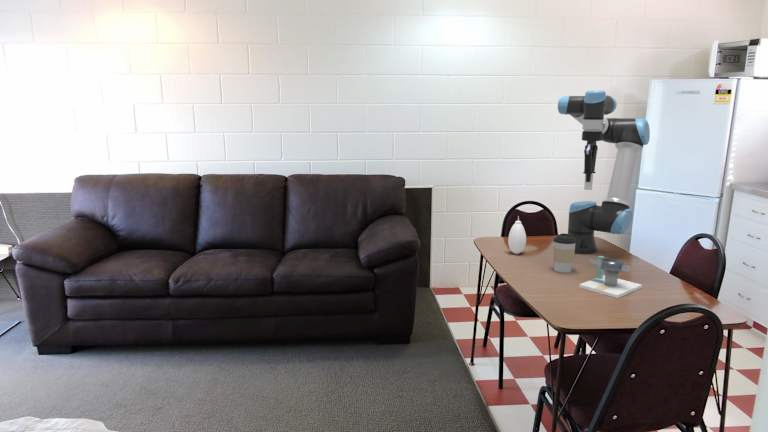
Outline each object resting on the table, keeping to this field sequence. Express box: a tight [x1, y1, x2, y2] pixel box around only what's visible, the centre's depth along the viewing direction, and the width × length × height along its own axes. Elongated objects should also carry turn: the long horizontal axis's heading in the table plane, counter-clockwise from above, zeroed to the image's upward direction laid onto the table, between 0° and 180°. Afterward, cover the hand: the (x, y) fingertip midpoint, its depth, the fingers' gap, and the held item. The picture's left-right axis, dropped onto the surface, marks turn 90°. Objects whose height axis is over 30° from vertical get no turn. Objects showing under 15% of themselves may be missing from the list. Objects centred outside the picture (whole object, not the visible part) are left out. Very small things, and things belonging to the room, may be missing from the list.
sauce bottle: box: [507, 215, 527, 255], centre depth 243 cm, size 8×8×18 cm
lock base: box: [578, 255, 643, 299], centre depth 198 cm, size 18×15×10 cm
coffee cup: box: [552, 233, 576, 274], centre depth 219 cm, size 9×9×15 cm
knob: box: [589, 257, 631, 273], centre depth 198 cm, size 15×8×3 cm, turn 42°
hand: (588, 189), depth 213 cm, fingers closed
